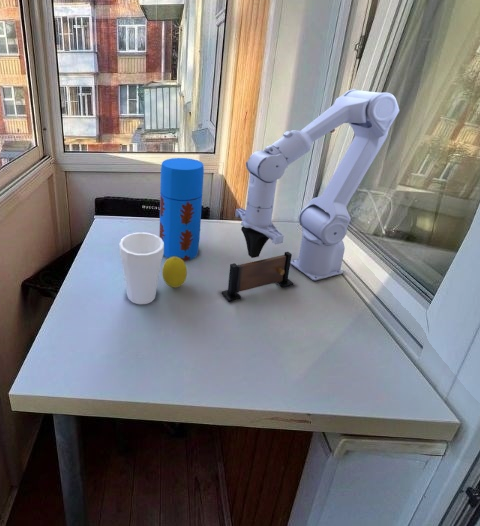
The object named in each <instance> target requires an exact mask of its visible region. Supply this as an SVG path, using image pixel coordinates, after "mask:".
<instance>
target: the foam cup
mask: <svg viewBox="0 0 480 526" xmlns="http://www.w3.org/2000/svg"><path fill="white" fill-rule="evenodd" d="M118 245H119V246H118V251H119V256H120V259H121V265H122V272H123V277H124V278H123V279H124V282H125V284H124V285H125V290H126V295H127V299H128V300H129V301H131V303H133V304H137V305H147V304H150V303H152V302H153V301H154V300H155V299H156V295H157V291H158V290H157V289H158V284H159V277H160V272H161V265H162V260H163V258H164V255H163V254H164V242H163V241H162V239H161V238H160V237H159V235H156V234H155V233H151V232H147V231H145V232H143V231H142V232H132V233H128V234H126V235H125V236H123V237H121V240H119V243H118Z"/></svg>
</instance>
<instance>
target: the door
mask: <svg viewBox="0 0 480 526" xmlns="http://www.w3.org/2000/svg"><path fill="white" fill-rule="evenodd" d="M285 260H286V256H284V254H282V255H277V256H273V257H268V258H263V259H260V260H255V261H254V260H253V261H249V262H246V263H241V264H236V265H237V266H238V272H237V282H236V291H235V292H237V293H238V294H239V293H240V292H244V291H249V290H253V289H255V288H260V287H264V286H267V285H271V284H277V282H280V281H282V280H283V274H284V273H285V271H284V267H285Z"/></svg>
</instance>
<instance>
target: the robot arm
mask: <svg viewBox="0 0 480 526" xmlns="http://www.w3.org/2000/svg"><path fill="white" fill-rule="evenodd" d="M399 113H400V107H399V104H398V101H397V99H396V96H395V95H393V94H392V93H390V92H378V91H367V90H360V89H354V88H353V89H349V90H347V91H346V92H344V93H343V94H342V95H340V96H338V97H336V98H335V101H334V103H333V104H332V105H331V106H330V107H328V108H327V109H326V110H325V111H324V112H322V113H321V114H319V116H317V117H316V118H314V120H312V121H311V122H309V123H308V124H307V125H306V126H304V127H303V128H302V129H301V130H297V129H296V130H295V129H292V130H290V131H289V130H286V131H285V132H284V133H283V134H282V136H281V137H280V138H279V139H277V140H276V141H275V142H273V143H272V144H270V145H267V146H265V147H264V150H263V149H261V150H256V151H254V152H253V153H252V154H251V155H250V156H249V158H248V159H247V161H245V169H246V170H247V171H248V173H249V177H248V178H249V179H248V188H247V198H246V206H245V209H244V208H243V207H241V208H236V209H235V213H234V217H235V218H238V219H241V222H240V225H241V229H240V231H241V232H242V234H243V236H244V240H245V244H246V249H247V254H248V256H249V257H250V258H251V259H254V258H259V257H260V255H261V253H262V251H263V248H264V246H265V245H266V243H267V242H268V241H269V240H271V241H272V242H271V243H273V244H274V245H279V244H283V243H284V238H285V235H284V234H283V233H282V232H281V231H279V229H278V228H277V226H276V225H274V223H273V222H272V220H273V212H274V204H275V197H276V188H277V183H278V180H280V179H281V178H282V177H283V175H284V174H285V171H286V169H287V168H288V167H289V166H290V165H292V164H293V163H294V162H296V161H297V160H298V159H300V158H301V157H303V156H304V155H306V154H307V153H309V152H310V150H311V147H312V143H314V142H316V141H317V140H318V139H321V138H322V137H323V136H326V135H327V134H329V133H330V132H332V131H334V130H335V129H336V128H339V127H340V126H342V125H343V124H348V125H349V126H350V127H351V128H352V131H353V134H354V138H353V139H352V141H351V143H350V145H349V146H348V148H347V150H346V151H345V153H344V155H343V157H342V159H341V161H340V162H339V164H338V166H337V168H336V169H335V171H334V173H333V175H332V176H331V178H330V180H329V181H328V183H327V185H326V187H325V188H324V190H323V192H322V194H321V195H320V196H316V197H313V198H311V199H310V201H309V202H308V204H307V205H306V206H304V207H303V208H302V209H301V211H300V212H299V214H298V217H297V219H298V223H299V225H300V226H301V231H302V235H301V241H300V242H301V243H300V248H299V253H298V259H294V260H293V259H292V260H291V262H290V265H291V266H293V267H294V268H296V269H297V270H298V271H300V272H301V273H302V274H303V275H305V276H306V277H308V278H309V279H310V280H312V281H319V280H323V279H328V278H331V277H334V276H338V275H342V274H344V270H342V269H341V268H342V264H343V259H344V254H345V249H346V248H345V243H344V241H343V240H344V239H345V237H346V235H347V232H348V226H349V224H350V222H351V219H352V218H351V215H350V214H349V210H348V209H347V208H348V207H347V206H348V205H349V202H350V201H351V199H352V197H353V195H354V194H355V193H356V191H357V189H358V187H359V186H360V183H361V182H362V181H363V179H364V177H365V175H366V174H367V172H368V170H369V168H370V167H371V165H372V163H373V162H374V160H375V158H376V156H377V155H378V153H379V152H380V150H381V148H382V146H383V145H384V143H385V141H386V140H387V138H388V134H389V131H390V128H391V126H392V124H393V123H394V121H395V119H396V118H397V116H398V114H399Z"/></svg>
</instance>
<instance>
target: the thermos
mask: <svg viewBox="0 0 480 526" xmlns="http://www.w3.org/2000/svg"><path fill="white" fill-rule="evenodd" d="M204 167H205V166H204V163H203V162H202V161H200V160H197V159H194V158H189V157H173V158H167V159H164V160H163V161H162V162H161V165H160V190H159V191H160V192H159V193H160V194H159V195H160V196H159V232H158V234H159V235H158V237H160V238H161V239H162V241H163V242H164V254H163V257H165V258H167V259H168V258H170V257H174V256H176V257H179V258H181V259H182V260H183V261H184V262H185V261H191V260H192V259H194V258H195V257H197V256H198V252H199V246H200V239H201V238H200V236H201V222H202V221H201V220H202V208H203V207H202V203H203V189H204V174H205V173H204V172H205V169H204Z"/></svg>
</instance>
